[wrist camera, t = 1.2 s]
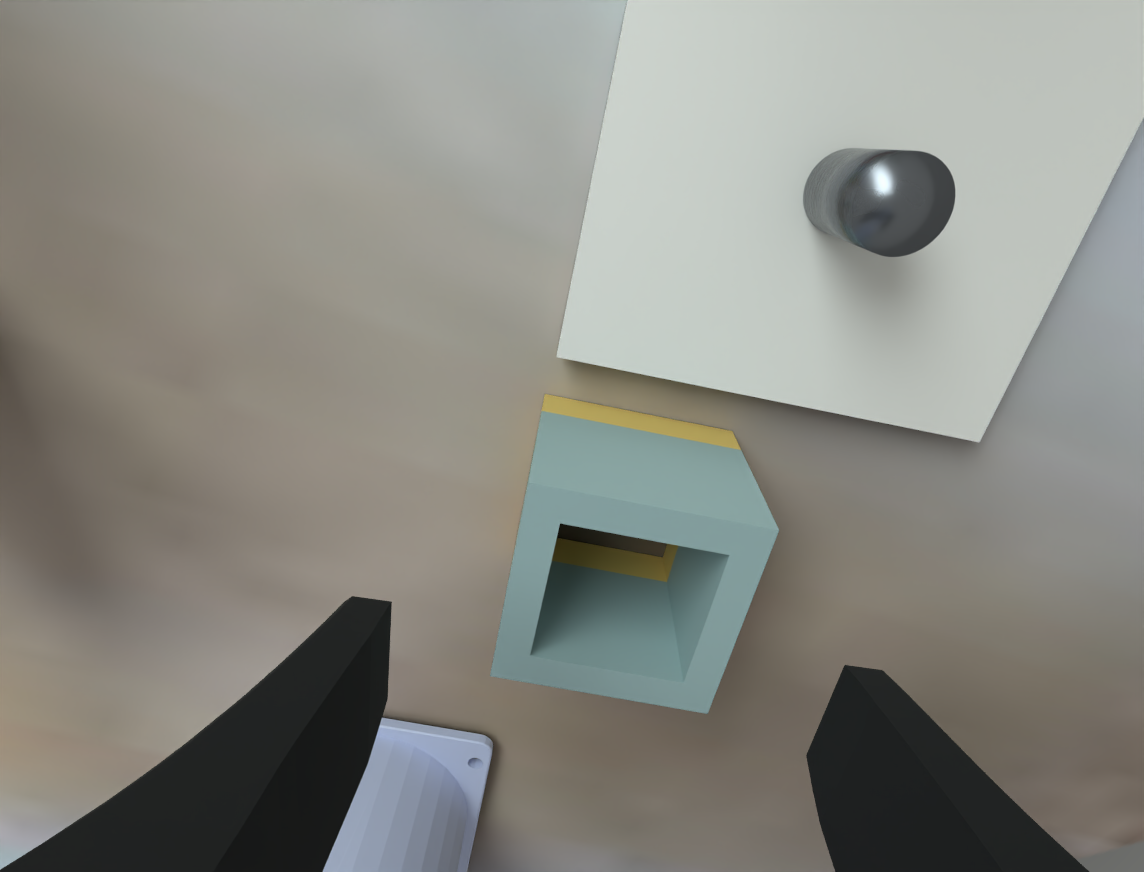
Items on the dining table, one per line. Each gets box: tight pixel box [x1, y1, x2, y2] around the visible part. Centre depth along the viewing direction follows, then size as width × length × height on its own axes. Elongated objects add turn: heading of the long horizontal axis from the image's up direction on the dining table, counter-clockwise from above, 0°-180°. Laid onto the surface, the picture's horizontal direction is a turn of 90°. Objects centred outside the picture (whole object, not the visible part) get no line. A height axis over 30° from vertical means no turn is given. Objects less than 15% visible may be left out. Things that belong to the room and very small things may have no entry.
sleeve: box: [490, 394, 779, 714], centre depth 17 cm, size 5×5×5 cm
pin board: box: [557, 0, 1144, 442], centre depth 14 cm, size 10×11×4 cm
